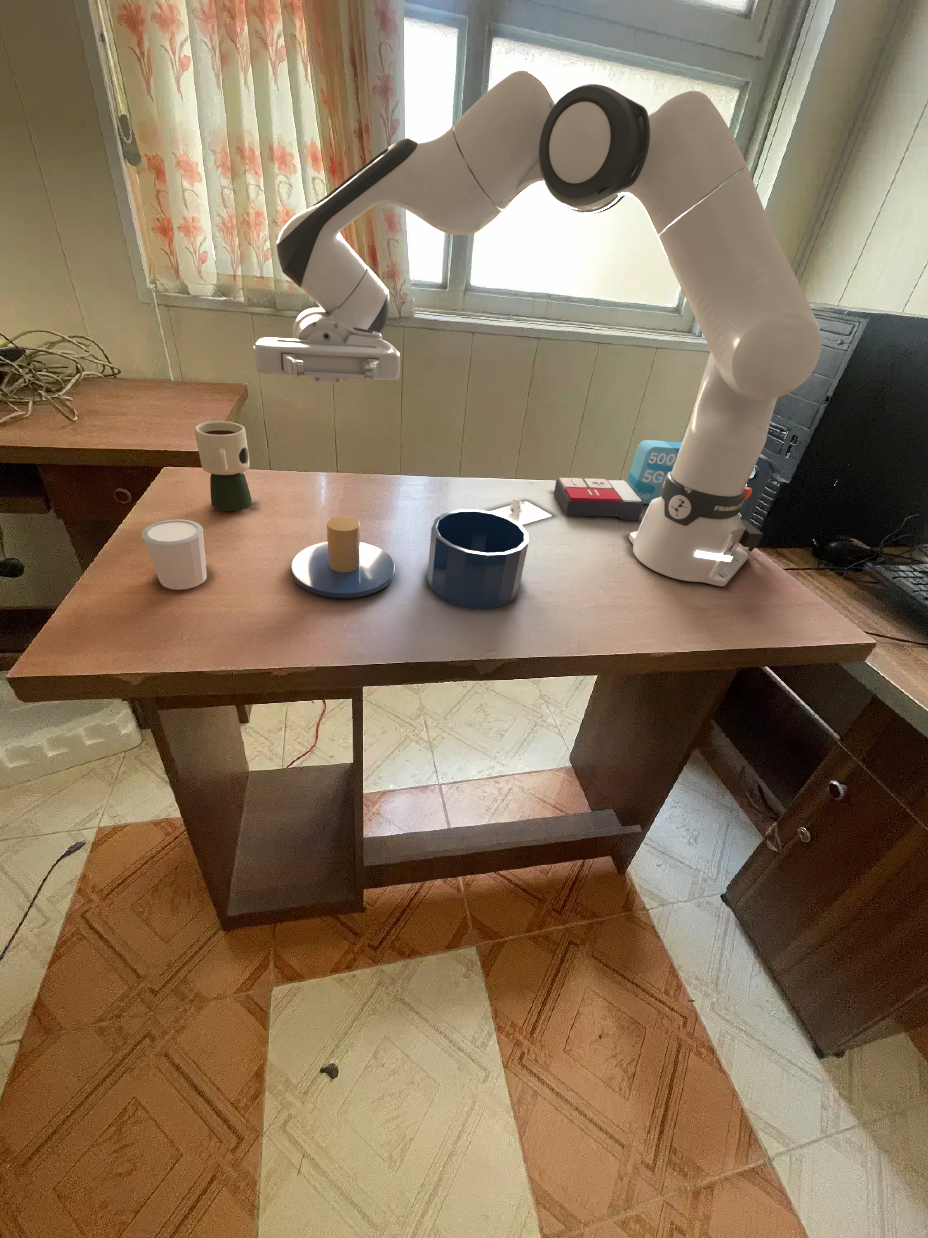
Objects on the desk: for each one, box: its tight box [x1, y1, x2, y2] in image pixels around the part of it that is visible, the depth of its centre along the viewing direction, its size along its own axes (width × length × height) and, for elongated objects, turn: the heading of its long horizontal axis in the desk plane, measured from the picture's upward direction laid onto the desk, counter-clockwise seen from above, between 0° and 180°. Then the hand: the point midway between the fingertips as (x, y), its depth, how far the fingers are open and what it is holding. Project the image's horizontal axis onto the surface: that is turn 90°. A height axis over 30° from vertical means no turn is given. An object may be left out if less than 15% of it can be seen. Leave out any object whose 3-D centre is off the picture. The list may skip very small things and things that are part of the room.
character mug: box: [194, 420, 253, 512], centre depth 83 cm, size 11×7×13 cm, turn 19°
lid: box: [290, 515, 396, 599], centre depth 73 cm, size 14×14×8 cm
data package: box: [625, 439, 682, 505], centre depth 109 cm, size 12×4×12 cm, turn 98°
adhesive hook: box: [508, 497, 526, 516], centre depth 97 cm, size 3×3×3 cm
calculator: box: [553, 477, 644, 521], centre depth 105 cm, size 11×4×15 cm
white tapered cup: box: [141, 518, 208, 591], centre depth 67 cm, size 7×7×7 cm
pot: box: [426, 509, 530, 610], centre depth 75 cm, size 13×13×8 cm
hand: (335, 371), depth 70 cm, fingers open, 8 cm apart
